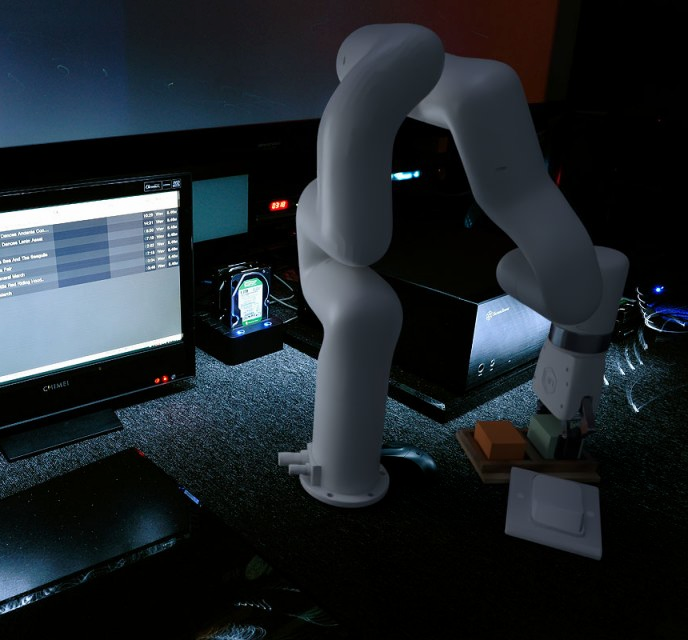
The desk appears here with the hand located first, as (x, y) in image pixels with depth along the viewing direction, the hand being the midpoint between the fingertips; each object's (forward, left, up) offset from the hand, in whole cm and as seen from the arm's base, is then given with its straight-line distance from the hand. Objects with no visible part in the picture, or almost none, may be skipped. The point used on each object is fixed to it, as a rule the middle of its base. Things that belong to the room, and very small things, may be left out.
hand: (554, 444), depth 99 cm
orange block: (-8, 0, -2) cm, 9 cm away
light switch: (-6, -13, -2) cm, 15 cm away
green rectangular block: (0, 0, -1) cm, 1 cm away
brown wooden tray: (-4, 0, -2) cm, 5 cm away
